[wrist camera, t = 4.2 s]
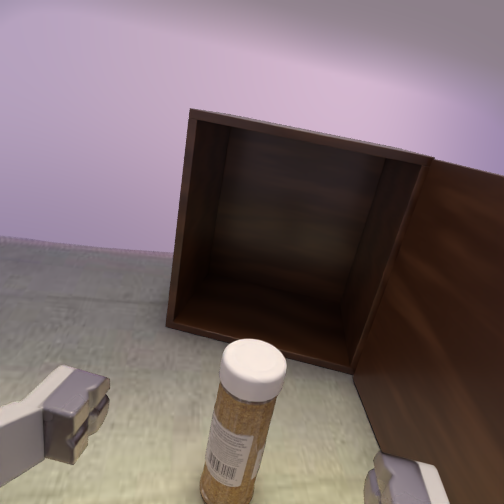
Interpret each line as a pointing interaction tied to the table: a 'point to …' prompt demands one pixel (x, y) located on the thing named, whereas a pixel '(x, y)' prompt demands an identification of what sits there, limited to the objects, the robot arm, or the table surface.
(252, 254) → the cupboard
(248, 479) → the sprinkles bottle
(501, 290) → the cupboard door
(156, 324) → the table surface
